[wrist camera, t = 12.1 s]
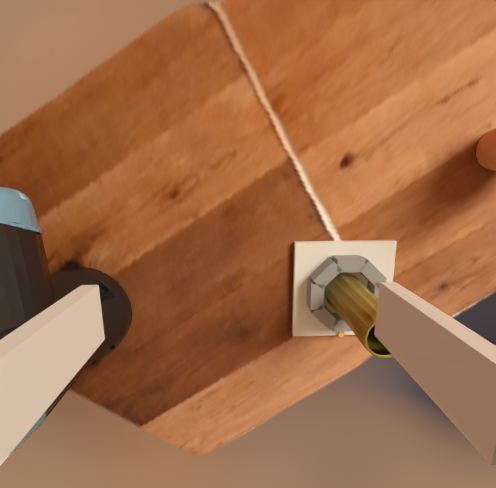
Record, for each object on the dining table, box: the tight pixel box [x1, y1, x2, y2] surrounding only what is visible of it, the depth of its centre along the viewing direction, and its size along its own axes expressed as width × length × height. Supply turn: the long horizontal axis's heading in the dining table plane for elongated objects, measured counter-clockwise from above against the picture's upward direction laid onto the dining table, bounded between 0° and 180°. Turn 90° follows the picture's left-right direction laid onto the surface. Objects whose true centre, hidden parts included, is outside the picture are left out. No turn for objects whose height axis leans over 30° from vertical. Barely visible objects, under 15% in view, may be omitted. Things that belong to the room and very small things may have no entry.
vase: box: [324, 273, 393, 358], centre depth 39 cm, size 6×6×14 cm
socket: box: [292, 240, 397, 337], centre depth 45 cm, size 16×16×4 cm
